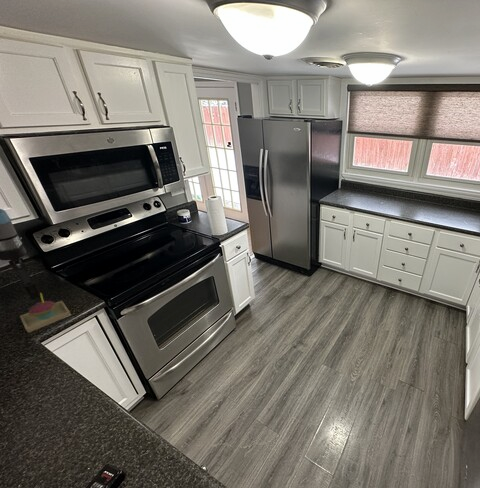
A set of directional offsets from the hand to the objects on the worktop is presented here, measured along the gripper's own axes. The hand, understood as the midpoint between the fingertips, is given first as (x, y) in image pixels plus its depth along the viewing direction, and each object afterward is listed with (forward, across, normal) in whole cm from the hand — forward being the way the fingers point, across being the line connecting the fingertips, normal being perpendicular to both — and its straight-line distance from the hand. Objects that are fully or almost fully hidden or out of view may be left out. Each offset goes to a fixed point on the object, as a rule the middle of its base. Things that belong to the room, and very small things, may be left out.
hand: (32, 291), depth 113 cm
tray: (+14, 0, 0) cm, 14 cm away
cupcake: (+14, 0, 0) cm, 14 cm away
